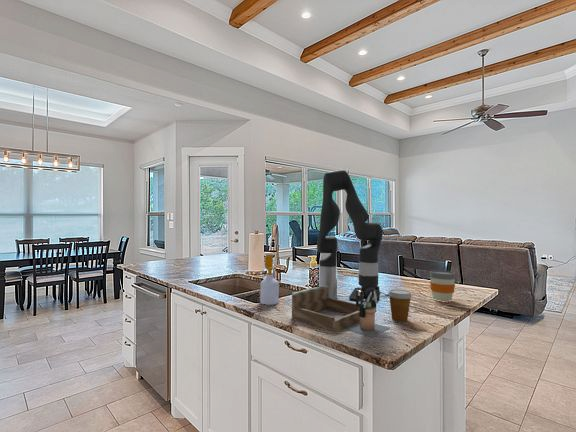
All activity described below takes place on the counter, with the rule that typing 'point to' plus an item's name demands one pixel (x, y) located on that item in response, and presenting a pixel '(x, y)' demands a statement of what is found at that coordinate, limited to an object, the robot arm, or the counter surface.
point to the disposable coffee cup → (399, 304)
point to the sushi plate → (353, 294)
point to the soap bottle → (269, 284)
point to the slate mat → (373, 333)
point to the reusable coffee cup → (442, 284)
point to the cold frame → (317, 300)
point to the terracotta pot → (368, 318)
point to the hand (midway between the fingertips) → (367, 314)
